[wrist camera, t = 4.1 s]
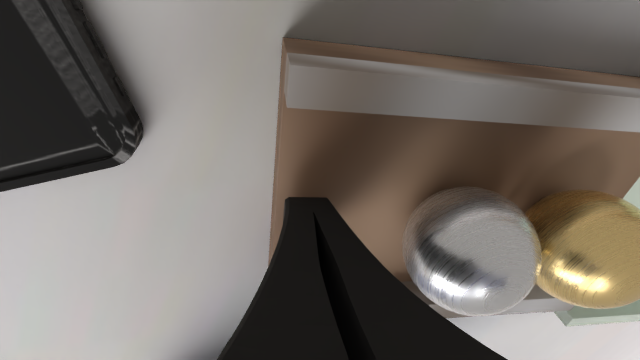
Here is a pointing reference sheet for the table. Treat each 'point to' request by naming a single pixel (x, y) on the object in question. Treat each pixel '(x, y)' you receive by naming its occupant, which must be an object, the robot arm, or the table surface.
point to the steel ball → (471, 251)
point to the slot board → (443, 138)
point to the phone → (58, 96)
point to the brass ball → (588, 248)
